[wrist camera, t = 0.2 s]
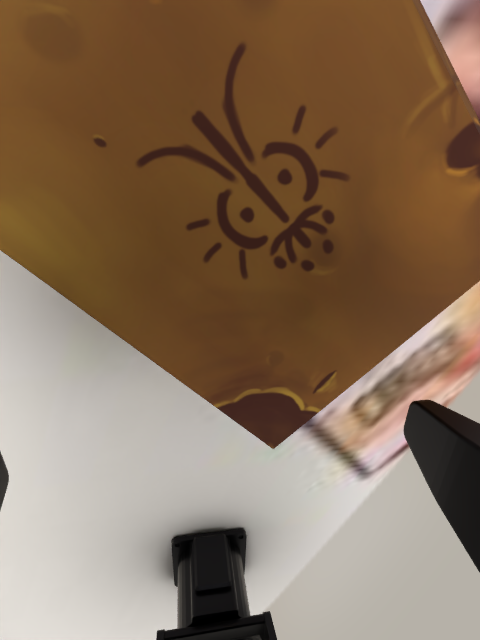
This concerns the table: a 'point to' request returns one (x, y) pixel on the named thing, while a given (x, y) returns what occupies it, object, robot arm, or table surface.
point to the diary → (241, 185)
